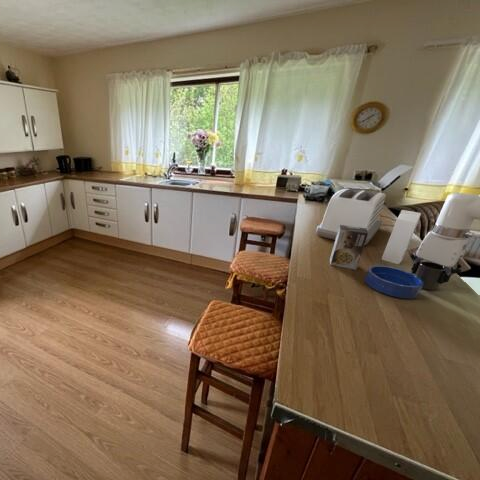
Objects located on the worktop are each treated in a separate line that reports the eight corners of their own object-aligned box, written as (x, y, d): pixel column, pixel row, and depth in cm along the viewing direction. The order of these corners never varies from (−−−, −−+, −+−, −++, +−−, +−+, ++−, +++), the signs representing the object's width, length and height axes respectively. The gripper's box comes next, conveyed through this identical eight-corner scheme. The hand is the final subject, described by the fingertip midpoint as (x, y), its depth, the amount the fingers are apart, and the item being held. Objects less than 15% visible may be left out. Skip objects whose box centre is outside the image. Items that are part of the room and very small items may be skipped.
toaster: (381, 227, 150) (395, 189, 141) (364, 248, 121) (381, 203, 112) (336, 218, 165) (346, 183, 156) (312, 235, 136) (323, 194, 128)
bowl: (426, 293, 87) (432, 281, 85) (403, 304, 82) (409, 291, 80) (378, 273, 99) (382, 262, 98) (355, 281, 94) (359, 270, 92)
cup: (441, 287, 90) (451, 268, 87) (431, 292, 88) (441, 272, 85) (417, 278, 96) (425, 259, 93) (407, 282, 93) (415, 263, 90)
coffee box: (354, 264, 107) (367, 228, 101) (356, 270, 102) (369, 233, 95) (329, 258, 111) (339, 224, 105) (329, 265, 106) (340, 228, 100)
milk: (398, 264, 107) (420, 214, 98) (380, 259, 111) (399, 211, 102) (401, 260, 110) (423, 211, 101) (384, 255, 114) (403, 208, 106)
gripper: (493, 238, 78) (467, 287, 85) (421, 222, 93) (403, 265, 99) (483, 242, 75) (456, 293, 82) (410, 224, 90) (392, 269, 97)
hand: (427, 277), depth 91 cm, fingers closed on cup, 6 cm apart
